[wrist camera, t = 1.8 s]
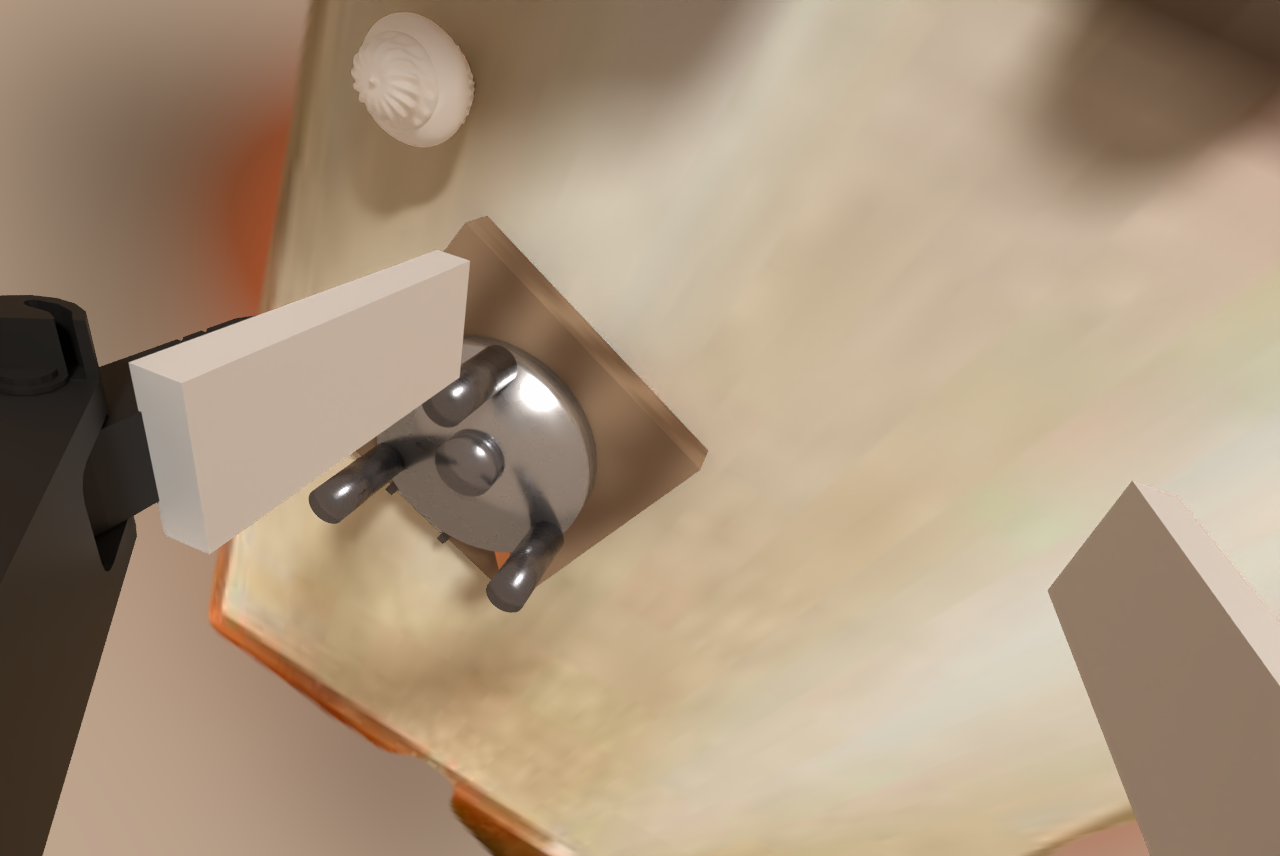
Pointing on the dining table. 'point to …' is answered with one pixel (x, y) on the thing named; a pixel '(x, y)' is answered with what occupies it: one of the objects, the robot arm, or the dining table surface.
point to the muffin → (413, 79)
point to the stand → (599, 379)
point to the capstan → (485, 464)
